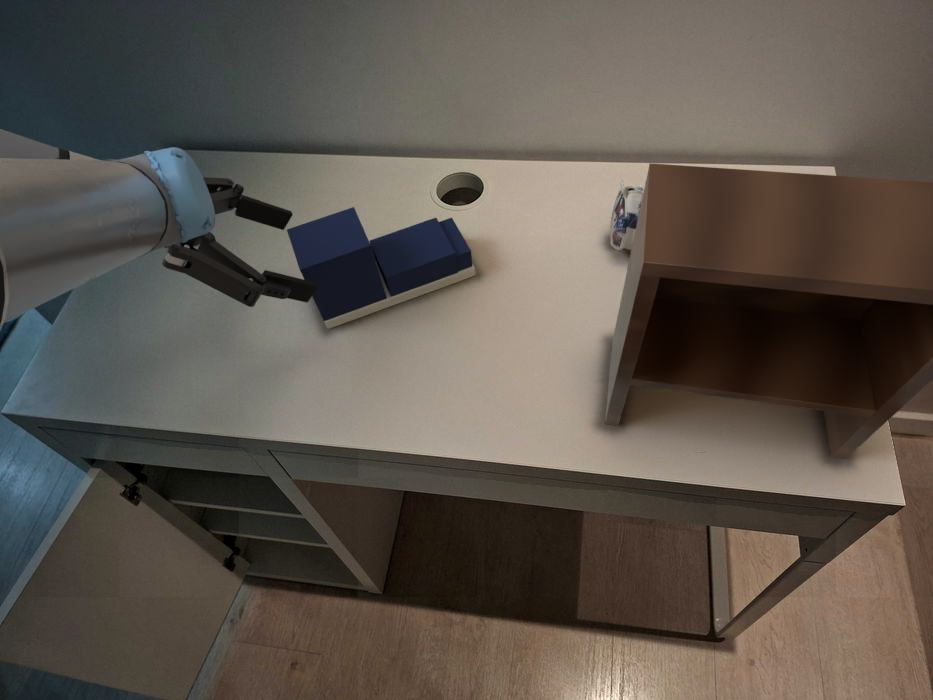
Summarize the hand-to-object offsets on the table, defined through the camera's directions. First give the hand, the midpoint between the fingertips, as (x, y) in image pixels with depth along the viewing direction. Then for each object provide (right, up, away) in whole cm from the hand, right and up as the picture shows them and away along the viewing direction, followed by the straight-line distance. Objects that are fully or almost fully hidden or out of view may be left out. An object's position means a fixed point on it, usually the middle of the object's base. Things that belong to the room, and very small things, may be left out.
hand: (299, 255), depth 75 cm
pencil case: (+52, +3, +10) cm, 53 cm away
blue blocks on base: (+11, -2, +10) cm, 15 cm away
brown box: (+51, -17, -4) cm, 54 cm away
